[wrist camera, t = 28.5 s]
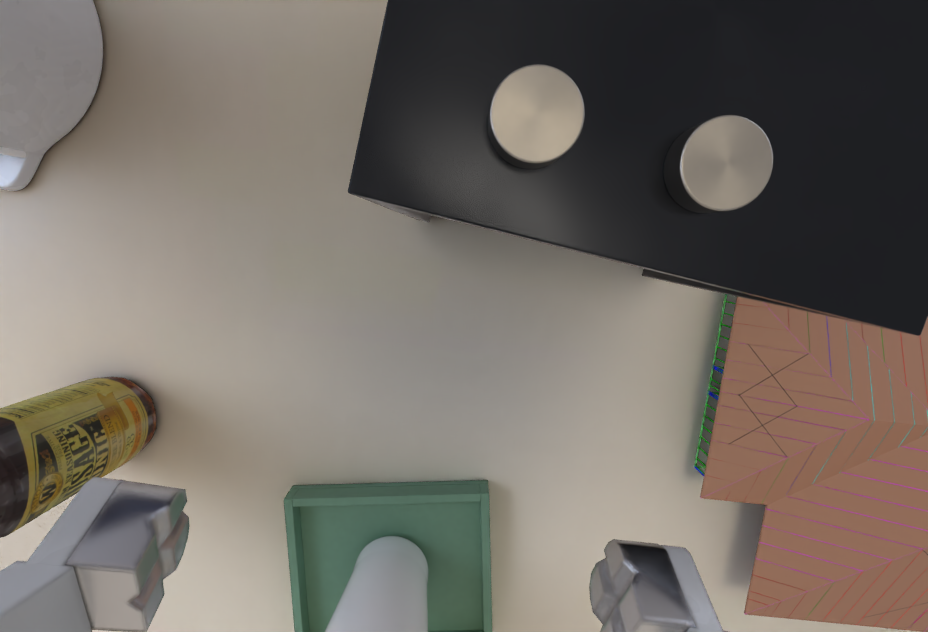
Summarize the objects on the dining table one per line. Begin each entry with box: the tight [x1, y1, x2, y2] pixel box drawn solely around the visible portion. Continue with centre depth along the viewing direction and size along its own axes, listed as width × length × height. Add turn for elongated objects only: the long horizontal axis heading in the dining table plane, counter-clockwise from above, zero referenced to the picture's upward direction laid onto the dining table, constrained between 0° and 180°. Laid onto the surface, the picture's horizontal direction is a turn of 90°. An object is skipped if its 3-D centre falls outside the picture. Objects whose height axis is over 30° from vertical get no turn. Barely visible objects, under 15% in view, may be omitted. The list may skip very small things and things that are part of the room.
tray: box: [284, 480, 492, 632], centre depth 39 cm, size 14×12×2 cm
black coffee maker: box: [348, 0, 928, 336], centre depth 24 cm, size 14×17×23 cm
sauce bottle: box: [0, 377, 156, 537], centre depth 28 cm, size 6×6×20 cm
